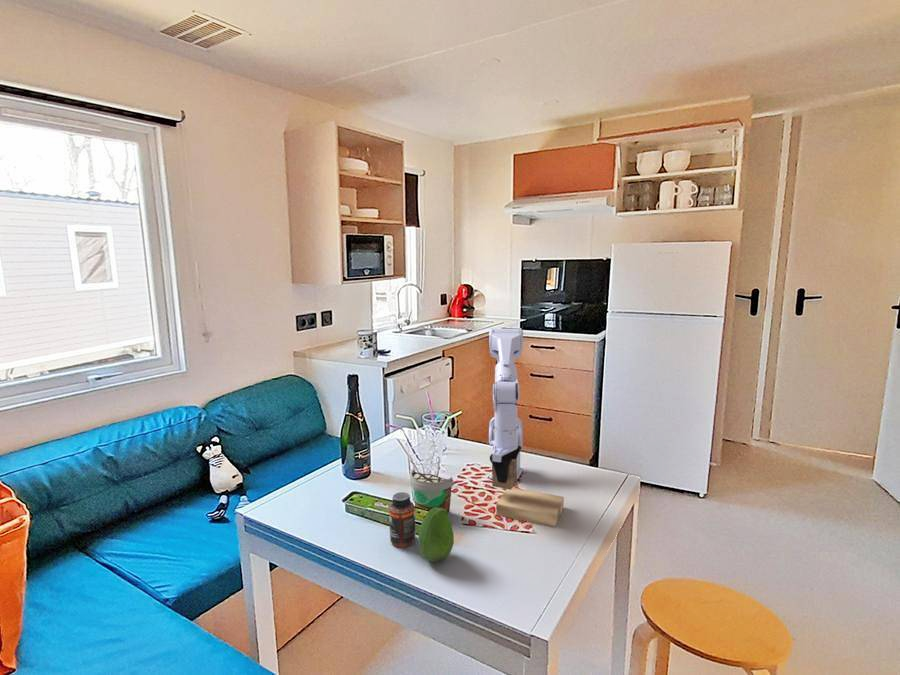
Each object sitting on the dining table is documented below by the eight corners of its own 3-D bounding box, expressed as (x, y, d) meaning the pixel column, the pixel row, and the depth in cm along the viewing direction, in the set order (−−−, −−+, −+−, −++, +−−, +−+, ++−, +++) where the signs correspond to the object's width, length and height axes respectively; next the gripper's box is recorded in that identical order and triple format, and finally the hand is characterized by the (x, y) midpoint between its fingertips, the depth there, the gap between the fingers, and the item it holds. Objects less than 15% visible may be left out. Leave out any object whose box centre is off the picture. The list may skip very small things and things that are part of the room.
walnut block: (498, 478, 131) (498, 456, 130) (516, 481, 129) (516, 459, 128) (492, 486, 127) (492, 464, 126) (511, 489, 125) (510, 467, 124)
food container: (401, 513, 127) (399, 477, 125) (413, 502, 132) (412, 467, 131) (443, 525, 121) (442, 487, 120) (454, 513, 127) (454, 477, 125)
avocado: (461, 561, 107) (460, 510, 105) (430, 574, 103) (428, 521, 101) (441, 543, 114) (440, 495, 112) (411, 555, 110) (410, 505, 108)
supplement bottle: (420, 537, 117) (419, 492, 115) (407, 551, 111) (405, 504, 109) (398, 531, 119) (397, 487, 117) (385, 544, 114) (383, 499, 112)
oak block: (508, 496, 135) (508, 486, 134) (563, 507, 129) (563, 496, 128) (496, 514, 126) (496, 504, 125) (555, 527, 120) (555, 515, 119)
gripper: (500, 416, 133) (500, 463, 136) (480, 434, 121) (481, 486, 123) (525, 419, 131) (525, 468, 133) (508, 439, 118) (508, 492, 120)
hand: (505, 477), depth 128 cm, fingers closed on walnut block, 5 cm apart
